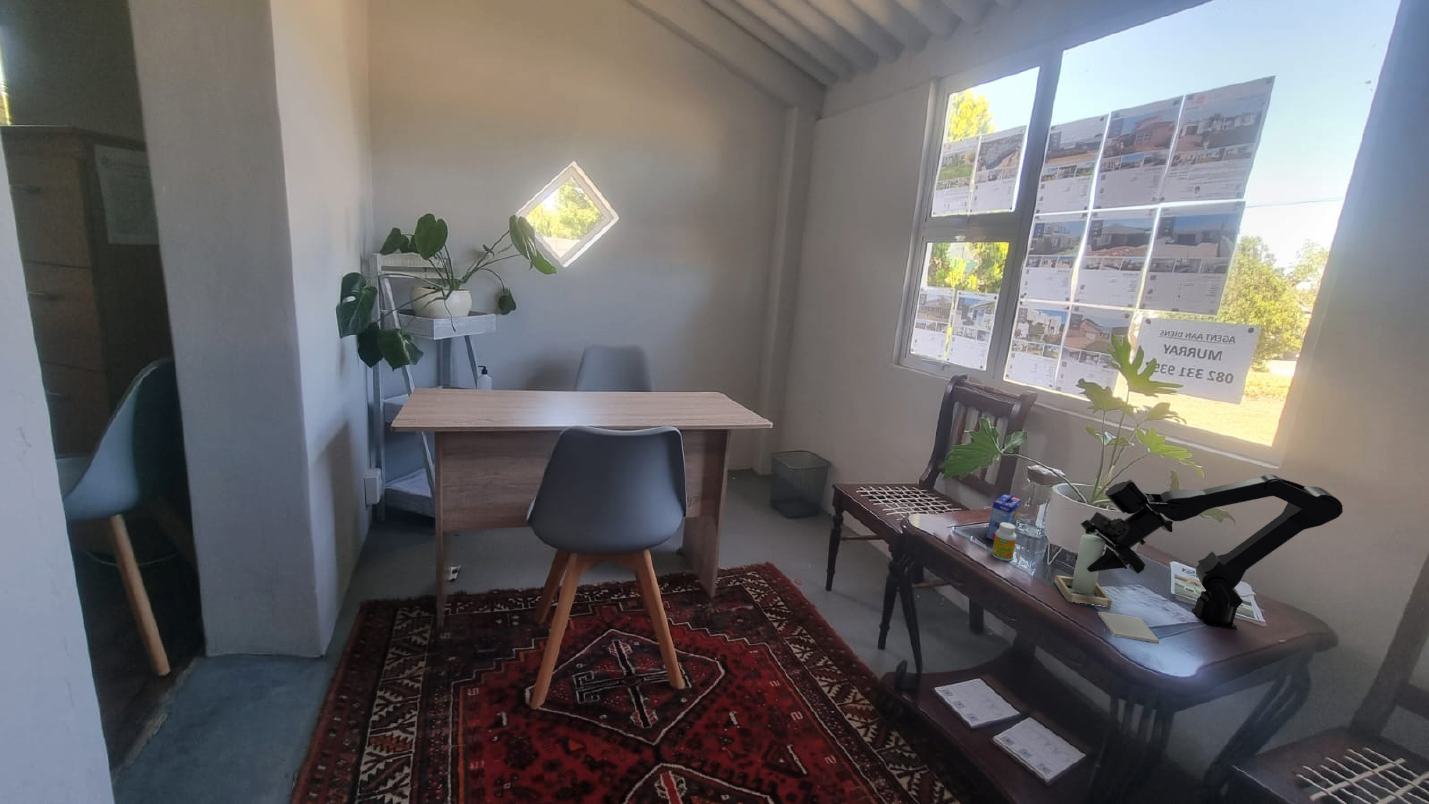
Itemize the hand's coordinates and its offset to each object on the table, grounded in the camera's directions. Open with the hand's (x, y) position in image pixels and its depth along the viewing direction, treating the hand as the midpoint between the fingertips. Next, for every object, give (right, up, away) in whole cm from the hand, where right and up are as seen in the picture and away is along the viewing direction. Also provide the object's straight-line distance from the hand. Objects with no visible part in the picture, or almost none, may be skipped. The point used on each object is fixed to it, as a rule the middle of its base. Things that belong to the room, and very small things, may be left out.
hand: (1082, 565), depth 147 cm
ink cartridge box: (-4, -1, +33) cm, 33 cm away
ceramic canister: (+1, -7, +1) cm, 7 cm away
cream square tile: (+3, -11, -11) cm, 16 cm away
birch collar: (+1, -8, +2) cm, 8 cm away
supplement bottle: (-10, -3, +20) cm, 23 cm away
